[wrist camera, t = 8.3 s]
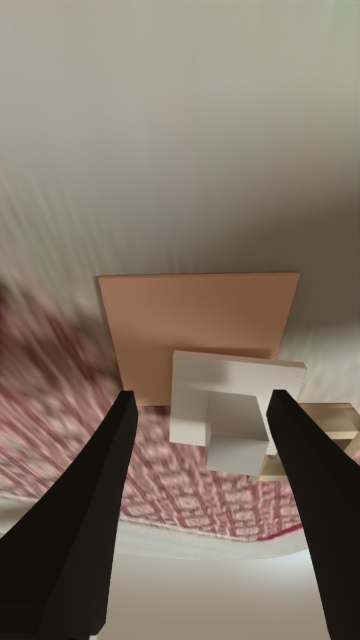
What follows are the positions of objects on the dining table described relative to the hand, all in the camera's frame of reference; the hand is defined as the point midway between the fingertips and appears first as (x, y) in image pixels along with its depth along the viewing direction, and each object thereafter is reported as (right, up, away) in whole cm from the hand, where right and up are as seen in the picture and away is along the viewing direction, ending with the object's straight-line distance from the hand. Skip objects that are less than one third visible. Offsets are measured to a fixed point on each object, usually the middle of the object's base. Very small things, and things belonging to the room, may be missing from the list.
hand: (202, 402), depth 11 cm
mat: (0, +2, +4) cm, 4 cm away
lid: (+2, -2, +4) cm, 5 cm away
